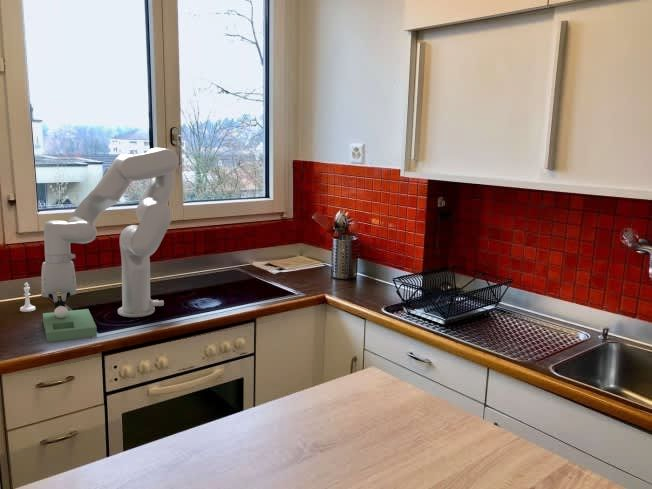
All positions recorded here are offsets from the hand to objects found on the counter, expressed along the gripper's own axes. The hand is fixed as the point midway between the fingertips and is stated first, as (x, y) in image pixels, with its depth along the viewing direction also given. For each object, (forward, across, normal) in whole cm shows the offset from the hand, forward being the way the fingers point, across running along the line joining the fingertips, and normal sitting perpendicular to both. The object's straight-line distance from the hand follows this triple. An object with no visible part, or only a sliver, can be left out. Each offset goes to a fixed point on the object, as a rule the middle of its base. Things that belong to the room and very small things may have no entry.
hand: (60, 312), depth 183 cm
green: (+4, -2, +7) cm, 8 cm away
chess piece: (+4, +9, -19) cm, 21 cm away
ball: (-1, 0, +4) cm, 4 cm away
